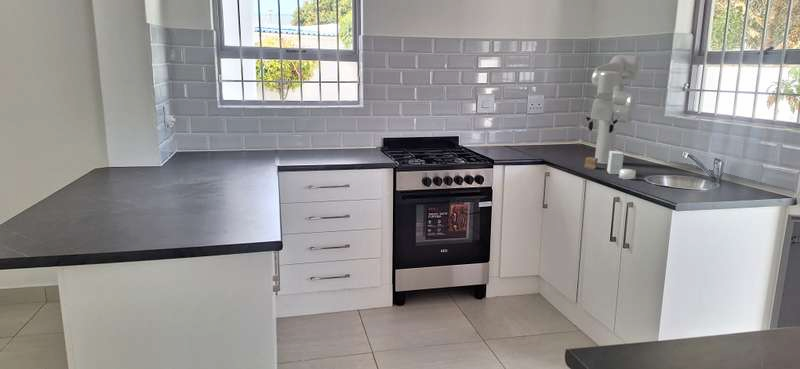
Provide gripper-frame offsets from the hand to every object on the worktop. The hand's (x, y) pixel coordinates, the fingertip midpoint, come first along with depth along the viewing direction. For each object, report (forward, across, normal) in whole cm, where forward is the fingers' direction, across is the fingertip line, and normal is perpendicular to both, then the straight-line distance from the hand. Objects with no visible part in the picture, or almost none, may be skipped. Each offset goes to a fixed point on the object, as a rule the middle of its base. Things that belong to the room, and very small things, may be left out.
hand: (600, 131), depth 283 cm
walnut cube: (+19, -3, +1) cm, 20 cm away
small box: (+19, +10, -5) cm, 22 cm away
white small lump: (+19, +18, -14) cm, 30 cm away
